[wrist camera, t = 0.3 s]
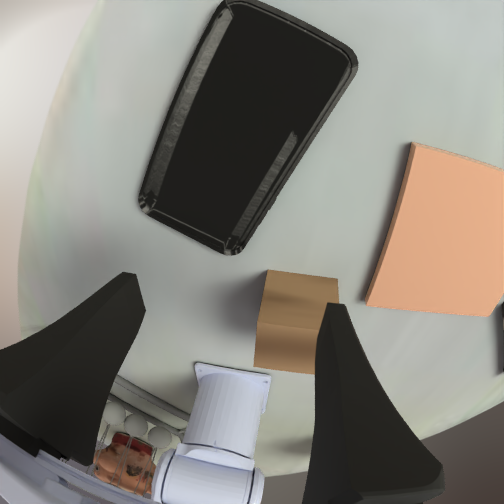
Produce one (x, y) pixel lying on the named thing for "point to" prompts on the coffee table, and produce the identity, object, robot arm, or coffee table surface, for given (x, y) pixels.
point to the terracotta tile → (443, 238)
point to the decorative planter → (126, 464)
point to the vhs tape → (503, 316)
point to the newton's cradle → (138, 423)
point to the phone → (242, 122)
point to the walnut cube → (291, 320)
